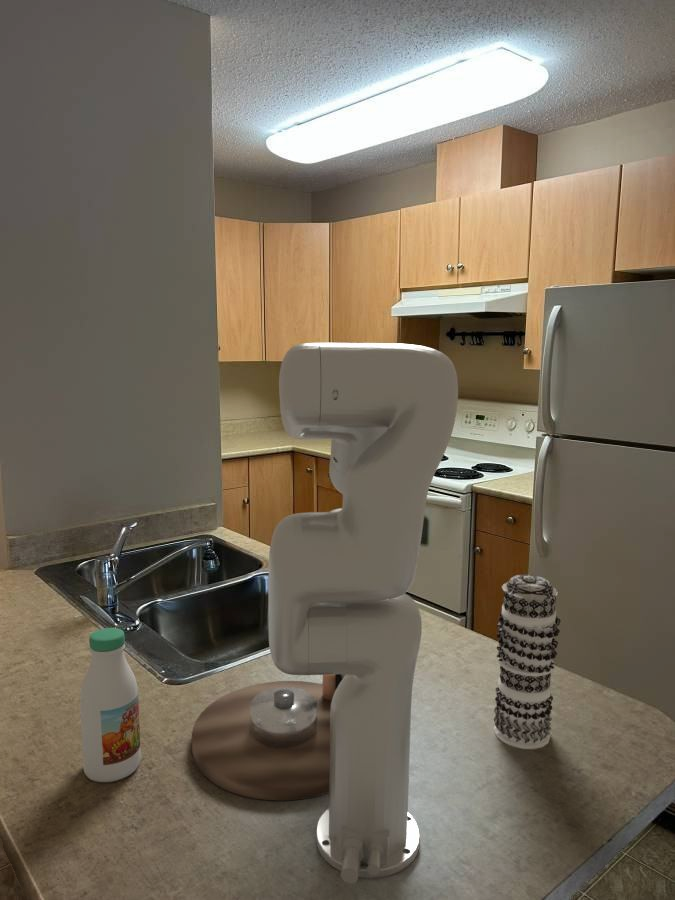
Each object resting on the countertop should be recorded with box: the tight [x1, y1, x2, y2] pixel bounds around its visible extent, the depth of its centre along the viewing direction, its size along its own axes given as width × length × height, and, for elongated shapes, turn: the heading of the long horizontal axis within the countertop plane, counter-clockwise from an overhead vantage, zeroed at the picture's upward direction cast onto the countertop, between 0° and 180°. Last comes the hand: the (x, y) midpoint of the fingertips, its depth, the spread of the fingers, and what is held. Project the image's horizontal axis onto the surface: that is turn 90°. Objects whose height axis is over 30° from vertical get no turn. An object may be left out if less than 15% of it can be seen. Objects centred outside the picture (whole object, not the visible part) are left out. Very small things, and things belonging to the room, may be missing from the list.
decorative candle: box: [493, 574, 562, 750], centre depth 102 cm, size 9×9×25 cm
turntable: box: [191, 674, 335, 801], centre depth 101 cm, size 28×28×6 cm
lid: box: [250, 687, 317, 748], centre depth 100 cm, size 10×10×6 cm
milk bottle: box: [80, 627, 142, 783], centre depth 93 cm, size 8×8×20 cm
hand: (346, 696), depth 107 cm, fingers closed
